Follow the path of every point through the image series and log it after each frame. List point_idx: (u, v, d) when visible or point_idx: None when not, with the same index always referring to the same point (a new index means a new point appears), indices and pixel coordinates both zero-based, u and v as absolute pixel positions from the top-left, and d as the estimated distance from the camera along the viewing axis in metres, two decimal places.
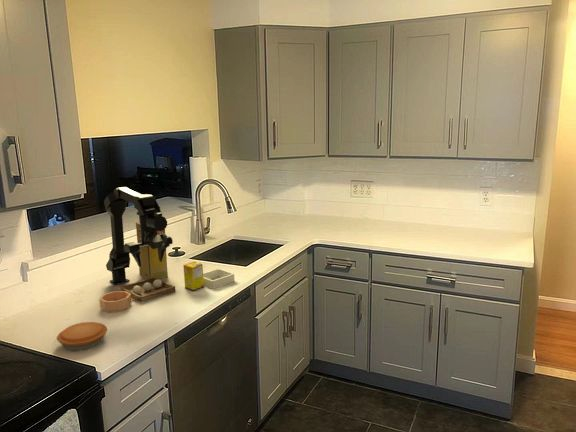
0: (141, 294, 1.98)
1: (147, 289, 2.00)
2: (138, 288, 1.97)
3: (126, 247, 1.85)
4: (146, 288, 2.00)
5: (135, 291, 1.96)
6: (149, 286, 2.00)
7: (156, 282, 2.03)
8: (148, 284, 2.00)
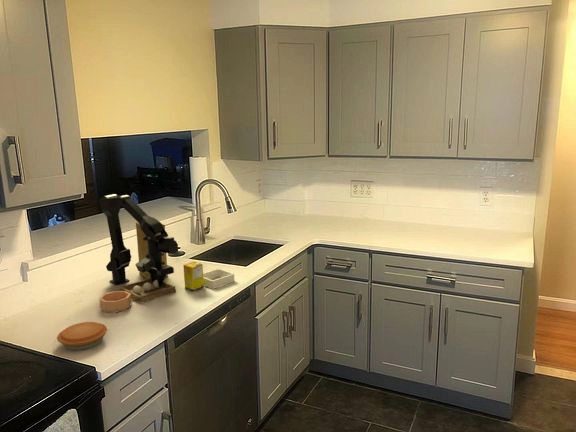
0: (141, 294, 1.98)
1: (147, 289, 2.00)
2: (138, 288, 1.97)
3: None
4: (146, 288, 2.00)
5: (135, 291, 1.96)
6: (149, 286, 2.00)
7: (156, 282, 2.03)
8: (148, 284, 2.00)
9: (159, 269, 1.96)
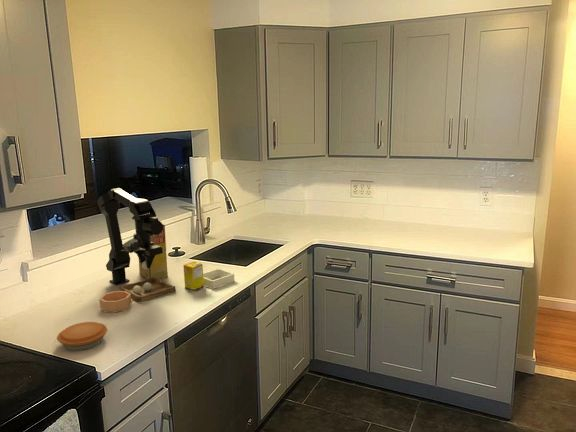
0: (141, 294, 1.98)
1: (147, 289, 2.00)
2: (138, 288, 1.97)
3: None
4: (146, 288, 2.00)
5: (135, 291, 1.96)
6: (149, 286, 2.00)
7: (145, 263, 1.97)
8: (148, 284, 2.00)
9: (148, 249, 1.90)
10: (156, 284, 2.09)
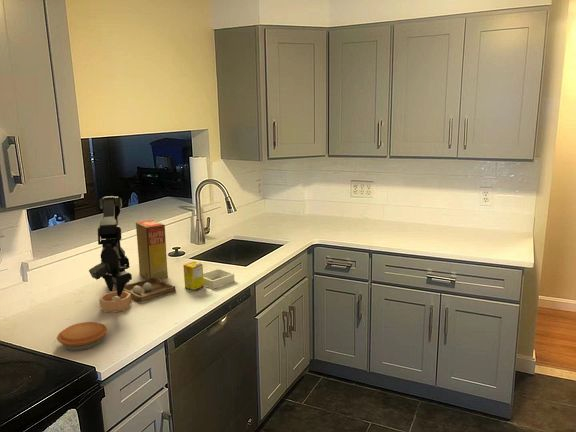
0: (141, 294, 1.98)
1: (147, 289, 2.00)
2: (138, 288, 1.97)
3: None
4: (146, 288, 2.00)
5: (135, 291, 1.96)
6: (149, 286, 2.00)
7: (114, 299, 1.85)
8: (148, 284, 2.00)
9: (115, 276, 1.78)
10: (156, 284, 2.09)
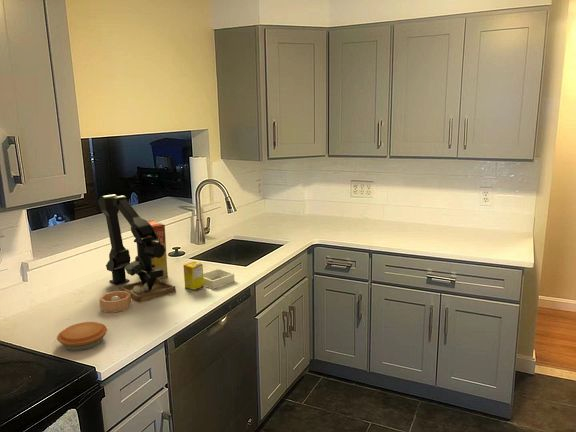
0: (141, 294, 1.98)
1: (147, 289, 2.00)
2: (138, 288, 1.97)
3: None
4: (146, 288, 2.00)
5: (135, 291, 1.96)
6: None
7: (113, 298, 1.86)
8: None
9: (149, 272, 1.93)
10: (156, 284, 2.09)
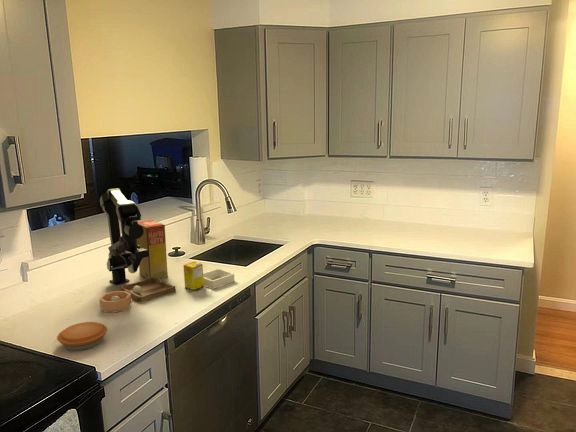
0: (141, 294, 1.98)
1: (132, 271, 1.92)
2: (138, 288, 1.97)
3: None
4: (131, 270, 1.91)
5: (135, 291, 1.96)
6: None
7: (113, 298, 1.86)
8: None
9: (134, 252, 1.85)
10: (156, 284, 2.09)
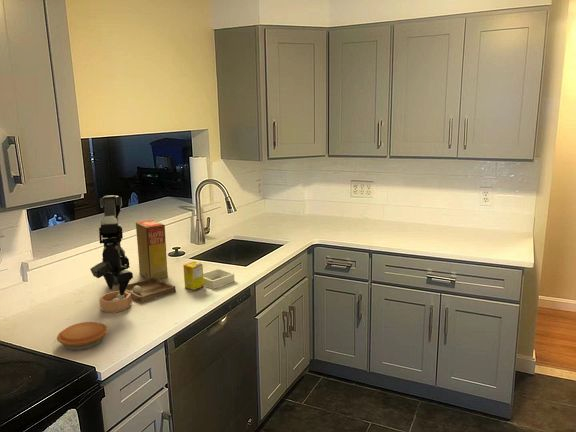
0: (141, 294, 1.98)
1: (124, 295, 1.90)
2: (138, 288, 1.97)
3: None
4: None
5: (135, 291, 1.96)
6: None
7: None
8: None
9: (116, 274, 1.79)
10: (156, 284, 2.09)
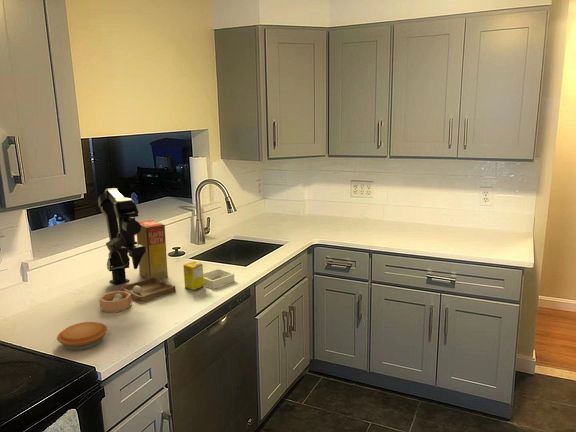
0: (141, 294, 1.98)
1: (120, 294, 1.89)
2: (138, 288, 1.97)
3: None
4: (120, 294, 1.90)
5: (135, 291, 1.96)
6: (122, 297, 1.90)
7: None
8: None
9: (130, 248, 1.88)
10: (156, 284, 2.09)
